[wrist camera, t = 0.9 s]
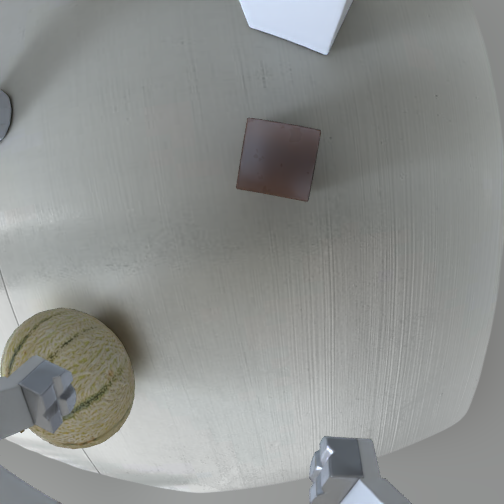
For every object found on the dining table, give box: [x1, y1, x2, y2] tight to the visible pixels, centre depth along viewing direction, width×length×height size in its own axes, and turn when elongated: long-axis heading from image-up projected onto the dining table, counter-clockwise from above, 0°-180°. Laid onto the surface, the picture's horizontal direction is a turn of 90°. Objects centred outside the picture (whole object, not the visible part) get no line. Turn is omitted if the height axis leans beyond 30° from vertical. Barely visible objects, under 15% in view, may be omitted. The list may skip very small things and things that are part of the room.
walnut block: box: [236, 118, 321, 202], centre depth 23 cm, size 5×5×5 cm
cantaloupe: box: [0, 308, 135, 449], centre depth 27 cm, size 15×15×15 cm
